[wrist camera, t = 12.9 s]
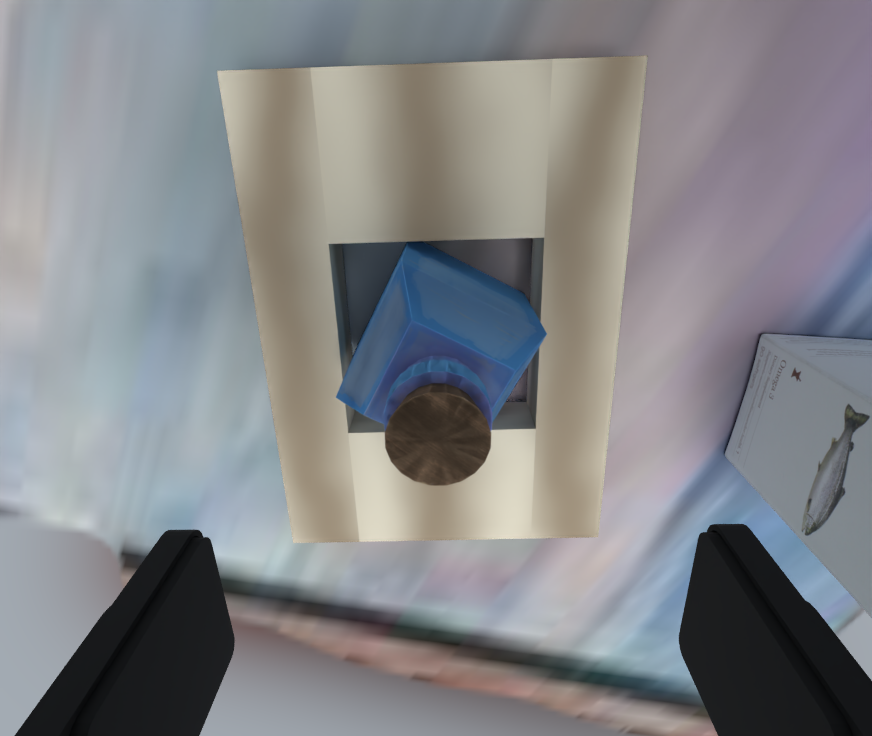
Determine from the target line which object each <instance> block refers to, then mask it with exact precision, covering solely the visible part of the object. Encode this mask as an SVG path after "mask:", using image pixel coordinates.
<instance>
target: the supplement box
mask: <svg viewBox="0 0 872 736" xmlns="http://www.w3.org/2000/svg"><path fill="white" fill-rule="evenodd" d="M725 456H726V458H727V459H728V460H729V461H730V462H731V463H732V464H733V466H734V467H735V468H736V469H737V470H738V471H739V472H740V473H741V474H742V476H743V477H744V478H745V479H746V480H747V481H748V482H749V483H750V484H751V485H752V487H753V488H754V489H755V490H756V491H757V492H758V493H759V494H760V495H761V496H762V498H763V499H764V500H765V501H766V502H767V503H768V504H769V505H770V506H771V507H772V509H773V510H774V511H775V512H776V513H777V514H778V515H779V516H780V517H781V519H782V520H783V521H784V522H785V523H786V524H787V525H788V526H789V527H790V528H791V530H792V531H793V532H794V533H795V534H796V535H797V536H798V537H799V538H800V539H801V540H802V542H803V543H804V544H805V545H806V546H807V547H808V548H809V550H810V551H811V552H812V553H813V554H814V555H815V556H816V557H817V558H818V559H819V560H820V562H821V563H822V564H823V565H824V566H825V567H826V568H827V569H828V571H829V572H830V573H831V574H832V575H833V576H834V577H835V578H836V579H837V580H838V581H839V582H840V584H841V585H842V586H843V587H844V588H845V589H846V590H847V591H848V592H849V593H850V595H851V596H852V597H853V598H854V599H855V600H856V601H857V602H858V604H859V605H860V606H861V607H862V608H863V609H864V610H865V611H866V612H867V613H868V614H869V616H870V617H871V618H872V340H863V339H849V338H831V337H815V336H800V335H783V334H762V335H761V337H760V341H759V345H758V349H757V354H756V358H755V362H754V365H753V369H752V372H751V376H750V380H749V383H748V386H747V389H746V393H745V396H744V399H743V402H742V405H741V408H740V411H739V414H738V417H737V420H736V424H735V427H734V429H733V432H732V435H731V438H730V441H729V444H728V446H727V449H726V452H725Z"/></svg>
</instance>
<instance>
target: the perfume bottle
mask: <svg viewBox="0 0 872 736" xmlns="http://www.w3.org/2000/svg"><path fill="white" fill-rule="evenodd" d="M546 335H547V333H546V331H545V329H544V328H543V326H542V324H541V322H540V321H539V319H538V317H537V315H536V313H535V312H534V310H533V308H532V306H531V305H530V303H529V301H528V299H527V298H526V296H525V294H524V293H522V292H520V291H518V290H516V289H514V288H512V287H510V286H509V285H507V284H505V283H503V282H501V281H499V280H497V279H495V278H493V277H491V276H489V275H487V274H485V273H483V272H481V271H479V270H477V269H475V268H473V267H471V266H470V265H468V264H466V263H464V262H462V261H460V260H458V259H456V258H454V257H452V256H450V255H448V254H446V253H444V252H442V251H440V250H438V249H436V248H434V247H432V246H430V245H429V244H427V243H425V242H423V241H411V242H407V243H406V245H405V247H404V250H403V252H402V254H401V256H400V258H399V260H398V262H397V264H396V266H395V268H394V270H393V272H392V275H391V277H390V279H389V281H388V283H387V285H386V287H385V289H384V291H383V293H382V295H381V297H380V300H379V302H378V304H377V306H376V308H375V310H374V312H373V314H372V316H371V318H370V320H369V322H368V325H367V327H366V329H365V331H364V333H363V335H362V337H361V339H360V341H359V343H358V345H357V348H356V350H355V353H354V355H353V357H352V360H351V362H350V364H349V367H348V369H347V372H346V374H345V376H344V379H343V381H342V384H341V386H340V388H339V391H338V393H337V395H336V398H337V399H339V400H340V401H342V402H343V403H345V404H347V405H348V406H350V407H351V408H353V409H354V410H356V411H358V412H359V413H361V414H362V415H364V416H366V417H369V418H371V419H373V420H375V421H378V422H380V423H382V424H384V429H385V449H386V451H387V453H388V456H389V458H390V461H391V462H392V463H393V465H394V466H395V467H396V468H397V469H398V470H399V471H400V473H402V474H403V475H405V476H407V477H408V478H410V479H411V480H413V481H415V482H419V483H422V484H426V485H430V486H446V485H450V484H454V483H458V482H461V481H463V480H465V479H466V478H468V477H470V476H471V475H473V474H475V473H476V472H477V470H478V469H479V468H480V467H481V466H482V465H483V464H484V463H485V461H486V458H487V456H488V454H489V451H490V449H491V430H492V423H493V421H494V419H495V418H496V416H497V415H498V413H499V411H500V410H501V408H502V406H503V405H504V403H505V402H506V400H507V398H508V397H509V395H510V394H511V392H512V390H513V389H514V387H515V385H516V384H517V382H518V381H519V379H520V377H521V376H522V374H523V372H524V371H525V369H526V368H527V366H528V364H529V363H530V361H531V359H532V358H533V356H534V355H535V353H536V351H537V350H538V348H539V347H540V345H541V343H542V342H543V340H544V338H545V337H546Z"/></svg>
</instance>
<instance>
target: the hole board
mask: <svg viewBox="0 0 872 736" xmlns="http://www.w3.org/2000/svg"><path fill="white" fill-rule="evenodd" d="M647 57H648V56H621V57H593V58H564V59H536V60H508V61H480V62H451V63H423V64H395V65H367V66H339V67H310V68H282V69H254V70H226V71H217V74H218V80H219V86H220V92H221V98H222V105H223V111H224V117H225V123H226V129H227V136H228V142H229V148H230V154H231V160H232V166H233V173H234V179H235V185H236V191H237V197H238V204H239V210H240V216H241V222H242V228H243V234H244V241H245V247H246V253H247V259H248V265H249V272H250V278H251V284H252V290H253V296H254V302H255V309H256V315H257V321H258V327H259V333H260V340H261V346H262V352H263V358H264V364H265V370H266V377H267V383H268V389H269V395H270V401H271V407H272V414H273V420H274V426H275V432H276V438H277V445H278V451H279V457H280V463H281V469H282V475H283V482H284V488H285V494H286V500H287V506H288V513H289V519H290V525H291V531H292V537H293V543H318V542H370V541H422V540H474V539H526V538H578V537H598V533H599V523H600V513H601V504H602V494H603V484H604V474H605V465H606V455H607V445H608V436H609V426H610V416H611V407H612V397H613V387H614V378H615V368H616V358H617V348H618V339H619V329H620V319H621V310H622V300H623V290H624V281H625V271H626V261H627V251H628V242H629V232H630V222H631V213H632V203H633V193H634V184H635V174H636V164H637V154H638V145H639V135H640V125H641V116H642V106H643V96H644V87H645V77H646V67H647ZM513 238H533V240H532V267H531V294H530V305H531V306H532V308H533V310H534V312H535V313H536V315H537V317H538V319H539V321H540V322H541V324H542V326H543V328H544V329H545V331H546V333H547V335H546V337H545V338H544V340H543V342H542V343H541V345H540V347H539V348H538V350H537V351H536V353H535V355H534V356H533V358H532V359H531V361H530V363H529V364H528V376H527V401H526V402H505V403H504V405H503V406H502V408H501V410H500V411H499V413H498V415H497V416H496V418H495V419H494V421H493V423H492V430H491V449H490V451H489V454H488V456H487V458H486V461H485V463H484V464H483V465H482V466H481V467H480V468H479V469H478V470H477V472H476V473H475V474H473V475H471V476H470V477H468V478H466V479H465V480H463V481H461V482H458V483H454V484H450V485H446V486H430V485H426V484H422V483H419V482H415V481H413V480H411V479H410V478H408V477H407V476H405V475H403V474H402V473H400V471H399V470H398V469H397V468H396V467H395V466H394V465H393V463H392V462H391V461H390V458H389V456H388V453H387V451H386V449H385V429H384V424H382V423H380V422H378V421H375V420H373V419H371V418H369V417H366V416H364V415H362V414H361V413H359V412H358V411H356V410H354V409H353V408H351V407H350V406H348V405H347V404H345V403H343V402H342V401H340V400H339V399H337V398H336V395H337V393H338V391H339V388H340V386H341V384H342V381H343V379H344V376H345V374H346V372H347V369H348V367H349V364H350V362H351V360H352V347H351V336H350V326H349V315H348V304H347V294H346V283H345V273H344V262H343V252H342V244H343V243H377V242H411V241H445V240H479V239H513Z"/></svg>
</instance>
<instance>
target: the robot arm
mask: <svg viewBox="0 0 872 736" xmlns="http://www.w3.org/2000/svg"><path fill="white" fill-rule="evenodd" d="M679 645H680V650H681V653H682V656H683V659H684V661H685V663H686V665H687V668H688V670H689V672H690V674H691V676H692V679H693V681H694V683H695V685H696V687H697V690H698V692H699V694H700V696H701V699H702V701H703V703H704V705H705V707H706V710H707V712H708V714H709V716H710V719H711V721H712V723H713V725H714V727H715V730H716V732H717V734H718V736H872V681H871V679H870V678H869V677H868V676H867V674H866V673H865V672H864V671H863V669H862V668H861V667H860V665H859V664H858V663H857V662H856V660H855V659H854V658H853V656H852V655H851V654H850V653H849V651H848V650H847V649H846V647H845V646H844V645H843V644H842V642H841V641H840V640H839V638H838V637H837V636H836V635H835V633H834V632H833V631H832V629H831V628H830V627H829V626H828V624H827V623H826V622H825V620H824V619H823V618H822V617H821V615H820V614H819V613H818V611H817V610H816V609H815V608H814V607H813V606H812V605H811V604H810V603H809V602H807V601H805V600H804V599H803V597H802V596H801V595H800V593H799V592H798V591H797V589H796V588H795V587H794V586H793V584H792V583H791V582H790V580H789V579H788V578H787V576H786V575H785V574H784V573H783V571H782V570H781V569H780V567H779V566H778V565H777V563H776V562H775V561H774V560H773V558H772V557H771V556H770V554H769V553H768V552H767V550H766V549H765V548H764V547H763V545H762V544H761V543H760V541H759V540H758V539H757V538H756V536H755V535H754V534H753V532H752V531H751V530H750V529H749V528H748V527H747V526H746V525H744V524H713V525H710V527H709V528H708V530H707V532H703V533H701V534H700V535H699V538H698V543H697V548H696V553H695V558H694V563H693V568H692V573H691V578H690V583H689V588H688V593H687V598H686V603H685V608H684V613H683V618H682V623H681V628H680V633H679ZM233 651H234V634H233V630H232V625H231V621H230V617H229V613H228V609H227V605H226V601H225V597H224V592H223V588H222V584H221V580H220V576H219V572H218V568H217V564H216V559H215V555H214V551H213V547H212V543H211V540H210V539H209V538H207V537H203V535H202V533H201V532H200V531H199V530H168V531H166V532H165V533H164V534H163V535H162V536H161V537H160V539H159V540H158V542H157V543H156V544H155V546H154V547H153V549H152V550H151V551H150V553H149V554H148V555H147V557H146V558H145V560H144V561H143V562H142V564H141V565H140V567H139V568H138V569H137V571H136V572H135V574H134V575H133V576H132V578H131V579H130V580H129V582H128V583H127V585H126V586H125V587H124V589H123V590H122V592H121V593H120V595H119V596H118V597H117V599H116V600H115V601H114V603H113V604H112V605H111V606H110V607H109V608H108V609H107V610H106V611H105V613H103V615H102V616H101V617H100V619H99V620H98V622H97V623H96V624H95V626H94V627H93V628H92V630H91V631H90V633H89V634H88V635H87V637H86V638H85V640H84V641H83V642H82V644H81V645H80V646H79V648H78V649H77V651H76V652H75V653H74V655H73V656H72V657H71V659H70V660H69V662H68V663H67V665H66V666H65V667H64V669H63V670H62V671H61V673H60V674H59V675H58V677H57V678H56V679H55V681H54V682H53V684H52V685H51V686H50V688H49V689H48V690H47V692H46V693H45V695H44V696H43V697H42V699H41V700H40V702H39V703H38V704H37V706H36V707H35V708H34V710H33V711H32V712H31V714H30V715H29V717H28V718H27V719H26V721H25V722H24V724H23V725H22V726H21V728H20V729H19V730H18V732H17V733H16V735H15V736H199V735H200V732H201V730H202V728H203V725H204V723H205V720H206V718H207V716H208V713H209V711H210V708H211V706H212V704H213V701H214V699H215V696H216V694H217V692H218V689H219V687H220V684H221V682H222V680H223V677H224V675H225V672H226V670H227V668H228V665H229V663H230V660H231V658H232V655H233Z"/></svg>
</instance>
